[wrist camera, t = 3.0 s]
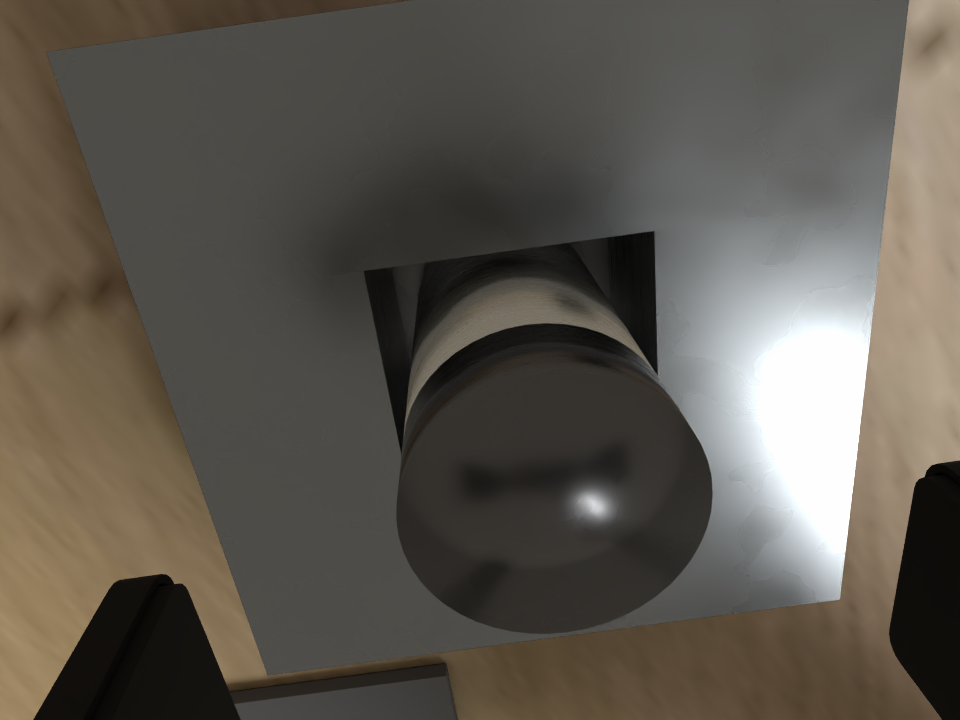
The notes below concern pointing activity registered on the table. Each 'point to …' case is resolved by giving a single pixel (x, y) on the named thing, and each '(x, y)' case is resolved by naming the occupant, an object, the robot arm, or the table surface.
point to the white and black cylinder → (541, 449)
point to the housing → (490, 229)
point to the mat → (355, 698)
